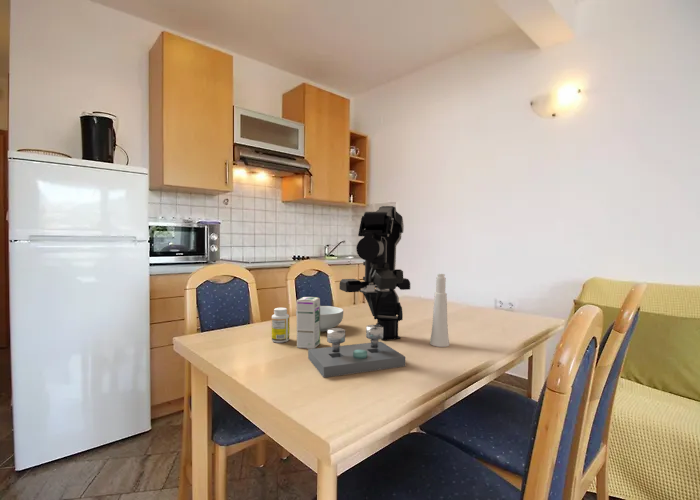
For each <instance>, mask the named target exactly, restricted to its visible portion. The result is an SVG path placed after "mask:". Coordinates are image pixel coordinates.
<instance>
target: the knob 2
mask: <svg viewBox="0 0 700 500" xmlns="http://www.w3.org/2000/svg"><path fill="white" fill-rule="evenodd" d="M365 329H366V330H365V332H366V333H365V337H366V338H367V339H369V340H370V343H371V348H378V342H379V340H382V338H383V326H381V325H376V324H369V325H366V326H365Z"/></svg>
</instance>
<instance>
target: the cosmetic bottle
mask: <svg viewBox="0 0 700 500" xmlns="http://www.w3.org/2000/svg"><path fill="white" fill-rule="evenodd" d="M445 276H446V274H445V273H437V276H436V280H435V282H436V283H435V292H434V298H433V313H432V324H431V326H432V327H431V333H430V341H429V344H430V345H431V346H432V347H437V348H445V347H449V346H450V345H451V344H450V339H449V338H450V337H449V328H448V325H449V324H448V296H447V295H448V293H446V282H447V281H446V277H445Z"/></svg>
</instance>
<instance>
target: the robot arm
mask: <svg viewBox="0 0 700 500" xmlns="http://www.w3.org/2000/svg"><path fill="white" fill-rule="evenodd" d="M360 218H361V219H360V222H359V223H360V225H359V230H358V233H357V234H358V237H362V238H361V239H359V241H358V242H357V244H356V249H355V250H356V253H357V256H358V257H359V258H360V259H362V260H364V261H363V263H362V264H363V265H362V266H364V276H362V281H361V280H359V279H355V278H342V279H341V280H340V282H339V290H340V291H342V292H345V293H359V292H360V293H362V294H363V296H364V298H365V299H366V302H367V304H368V307H369V310H370V313H371V315H372V316H373V320H376V321H377V322H376V323H375V325H381V326H383V338H382V339H381V341H389V340H400V339H401V336H399V322H400V321H403V314H404V313H403V306H402V305H401V304H402V303H401V302H400V297H399V295H398V293H397V292H396V289H397V288H398V289H399V290H400V291H404V290H405V291H407V290H411V281H410V279H409V278H406V277H404V271H403V270H402V269H401V268H400V269H399V268H398V269H397V268H396V261H397V260H396V259H397V246H398V244H399V242H400V241H401V240H402V234H403V233H404V228H405V227H404V226H405V225H404V219H403V216H402V214H400V213H399V212H398V211H397V209H396V206H394V205H382V206H379V208H378V209H377V210H376V211H365V212H364V213H363V215H362V216H361V217H360Z"/></svg>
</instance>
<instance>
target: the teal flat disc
mask: <svg viewBox="0 0 700 500" xmlns="http://www.w3.org/2000/svg"><path fill="white" fill-rule="evenodd" d="M353 357H354V358H357V359H364V358H367V351H365V350H354V351H353Z"/></svg>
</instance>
